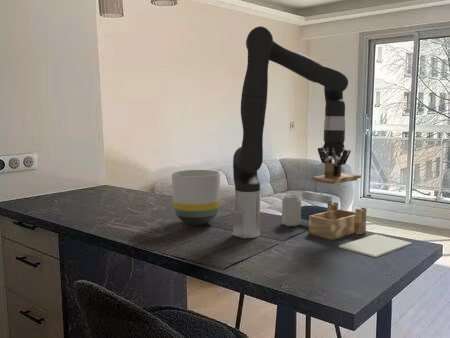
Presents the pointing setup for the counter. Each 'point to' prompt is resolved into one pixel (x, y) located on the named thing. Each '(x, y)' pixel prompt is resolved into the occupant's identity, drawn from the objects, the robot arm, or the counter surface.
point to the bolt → (317, 197)
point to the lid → (333, 179)
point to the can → (291, 210)
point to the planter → (196, 195)
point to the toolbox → (337, 222)
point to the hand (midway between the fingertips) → (332, 175)
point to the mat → (375, 245)
